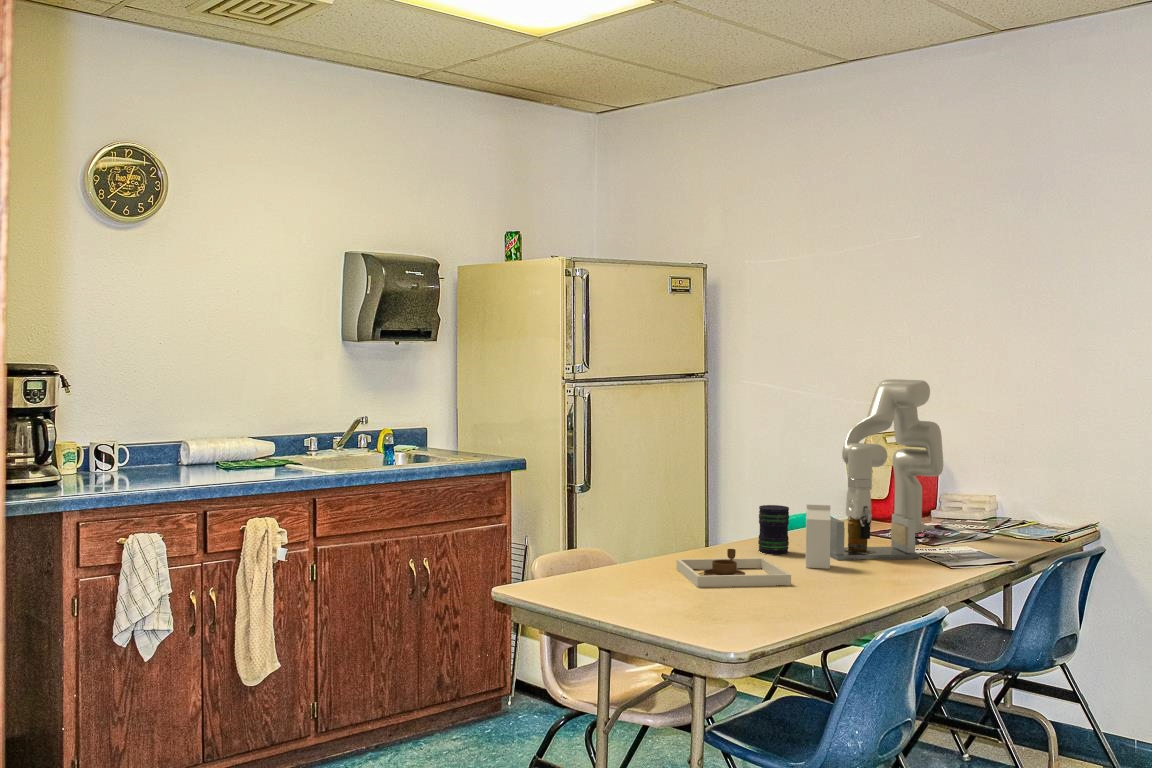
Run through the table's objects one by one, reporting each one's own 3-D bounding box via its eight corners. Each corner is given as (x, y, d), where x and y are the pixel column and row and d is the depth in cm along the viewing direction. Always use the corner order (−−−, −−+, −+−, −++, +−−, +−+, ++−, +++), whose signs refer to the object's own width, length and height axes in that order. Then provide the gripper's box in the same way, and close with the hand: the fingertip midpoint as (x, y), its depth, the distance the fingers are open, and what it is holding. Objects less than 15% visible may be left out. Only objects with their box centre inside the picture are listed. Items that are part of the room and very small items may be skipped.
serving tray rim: (763, 567, 322) (763, 557, 322) (791, 585, 297) (791, 574, 297) (676, 569, 318) (676, 559, 318) (697, 587, 294) (697, 576, 294)
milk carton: (829, 569, 321) (830, 506, 320) (805, 568, 322) (806, 506, 322) (828, 564, 328) (829, 503, 327) (805, 563, 329) (806, 502, 329)
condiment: (855, 548, 349) (856, 512, 348) (877, 552, 342) (877, 515, 342) (841, 550, 344) (842, 514, 344) (863, 554, 337) (864, 517, 337)
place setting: (686, 576, 307) (687, 556, 307) (728, 567, 321) (729, 548, 321) (735, 586, 294) (736, 565, 294) (777, 576, 308) (777, 556, 308)
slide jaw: (909, 545, 352) (910, 513, 352) (926, 552, 341) (927, 519, 340) (889, 546, 351) (890, 513, 351) (905, 552, 340) (906, 519, 339)
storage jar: (794, 554, 345) (795, 508, 345) (768, 556, 342) (769, 509, 341) (777, 548, 354) (778, 504, 354) (752, 550, 351) (753, 505, 350)
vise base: (901, 550, 353) (901, 515, 353) (920, 558, 339) (921, 521, 339) (821, 552, 349) (821, 515, 349) (837, 560, 335) (837, 522, 335)
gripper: (838, 480, 351) (837, 532, 352) (859, 487, 334) (858, 541, 334) (859, 480, 352) (859, 531, 353) (882, 487, 335) (881, 540, 335)
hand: (858, 536), depth 344 cm, fingers open, 9 cm apart
